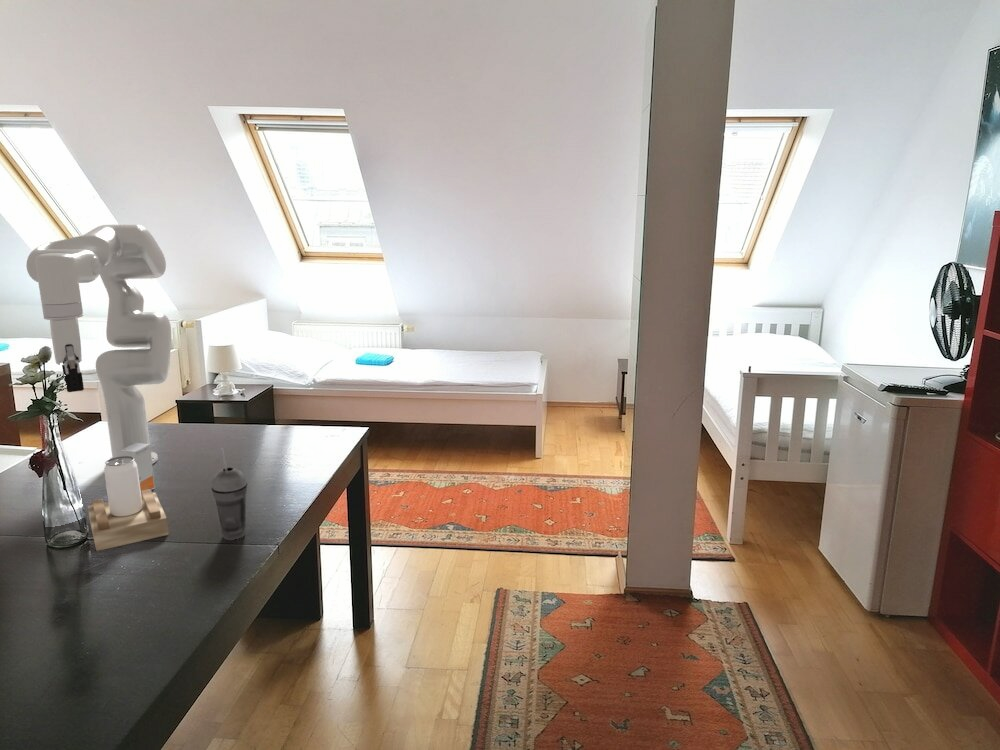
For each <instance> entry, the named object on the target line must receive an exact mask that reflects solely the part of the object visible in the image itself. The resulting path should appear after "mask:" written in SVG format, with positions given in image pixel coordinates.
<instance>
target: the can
mask: <svg viewBox="0 0 1000 750" xmlns="http://www.w3.org/2000/svg"><path fill="white" fill-rule="evenodd" d="M110 458H111V459H110ZM110 458H109V459H107V460H106V461H105V462H104V464H105V465H104V469H103V471H104V479H105V480H104V481H105V488H106V494H107V502H109V509H110V513H111V514H112V515H113V516H115V517H126V516H131V515H134V514H136V513H138V512H140V511H141V509H142V499H141V491H140V483H139V475H138V468H137V464H136V462H135V461H134V458H133V457H131V456H119V457H114V458H112V457H110Z"/></svg>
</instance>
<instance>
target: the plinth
mask: <svg viewBox="0 0 1000 750" xmlns="http://www.w3.org/2000/svg"><path fill="white" fill-rule="evenodd" d="M141 499H142V509H141V511H140V512H138V513H136V514H134V515H131V516H126V517H115V516H113V515H112V514H111V513H110V509H109V502H108V501H106V502H104V501H103V498H102V497H101V498H97V499H92V500H91V503H92V504H91V505H87V512H88V519H89V524H90V529H91V533H92V537H93V538H92V539H93V541H94V547H95V550H96V552H100V551H103V550H107V549H112V548H117V547H121V546H126V545H129V544H133V543H134V544H135V543H138V542H143V541H146V540H151V539H155V538H160V537H163V536H169V525H168V519H167V515H166V513H165V511H164V509H163V507H162V504H161V502H160V500H159V498H158V495H157V492H153V490H151V489H147V490H142V491H141Z"/></svg>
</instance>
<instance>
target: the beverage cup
mask: <svg viewBox="0 0 1000 750" xmlns="http://www.w3.org/2000/svg"><path fill="white" fill-rule="evenodd" d="M220 449H221V455H222V460H223V467H224V468H222V469H220V470H219V471H217V472H216V474H214V477H213V480H212V483H211V491H212V495H213V497H214V500H215V503H216V504H215V505H216V509H217V514H218V517H219V518H218V520H219V524H220V529H221V530H220V531H221V533H222V537H224V538H223V539H224V540H225V541H235V539H237V540H239V538H240V539H242V538H244V537H245V536H244V535H246V525H247V524H246V520H247V519H246V518H247V517H246V513H247V510H246V507H247V505H246V504H247V503H246V500H247V499H246V498H247V497H246V496H247V495H246V494H247V490H248V482H247V479H246V477H245V475H244V474H243V472H242V471H241V470H239V469H238V468H235V467H228V466H227V460H226V455H225V448H224V447H221V448H220ZM243 536H244V537H243ZM241 537H242V538H241Z"/></svg>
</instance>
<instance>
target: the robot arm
mask: <svg viewBox="0 0 1000 750" xmlns="http://www.w3.org/2000/svg"><path fill="white" fill-rule="evenodd" d="M166 262H167V261H166V257H165V254H164V253H163V250H162V249H161V247H160V246H159V244H158V242H157V241H156V239H155V237H154V236H153V235H152V233H151V232H150V231H149V230H148V229H147V228H145V227H144V226H143V225H140V224H103V225H99V226H97V227H95V228H93V229H91V230H89V231H88V232H86V233H84V234H83V235H78V236H74V237H69V238H64V239H61V240H57V241H50V242H48V243H47V242H46V243H43V244H42V245H40V246H38V247H36V248H34V249H33V250H32V251H30V253H29V255H28V256H27V260H26V271H27V274H28V276H29V277H30V278H31V279H32V280H33V281H35V282H36V283H38V288H39V296H40V302H41V307H42V315H43V319H44V320H45V321H46V320H47V321H48V320H49V326H50V335H51V342H52V348H53V354H54V361H55V363H56V364H57V365H58V366H59V365H61V364H62V365H61V366H62V374H63V375H64V374H65V375H66V376H65V378H64V377H63V380H64V382H65V386H66V385H67V386H66V391H67V393H73V392H74V393H75V392H83V391H84V390H85V388H84V380H83V375H82V372H81V369H80V363H81V362H82V344H81V334H80V326H79V319H78V318H82V317H83V316H84V311H83V304H82V303H83V302H82V297H81V289H80V284H84V283H85V284H87V283H91V282H94V281H95V280H96V279H97V278H98V277H100V279H101V281H102V283H103V286H104V288H105V290H106V292H107V296H108V308H107V309H108V310H107V317H106V318H107V319H106V340H107V342H108V343H109V344H110V346H113V347H115V348H123V349H112V350H108V351H107V350H106V351H104V352H102V353H101V354H99V356H98V357H97V358H96V361H95V371H96V375H97V377H98V380H99V384H100V386H101V390H102V393H103V394H102V395H103V398H104V399H103V400H104V401H103V402H104V406H105V412H106V419H107V421H106V422H107V428H108V435H109V442H110V443H109V444H110V450H111V457H110V458H109V459H111V458H114V457H119V456H120V451H121V450H123V449H125V448H126V447H128V446H130V445H133V444H135V443H143V444H150V445H151V443H150V442H151V441H150V435H149V426H148V425H149V424H148V418H147V409H146V401H145V400H146V399H145V398H144V395H143V394H142V393H141V391H140V390H139V389H138V388H137V387H136V386H145V385H147V386H148V385H149V386H151V385H160V384H163V383H165V382H166V381H167V379H168V377H169V375H170V374H169V373H170V363H171V348H172V326H171V325H172V324H171V323H170V319H169V318H168V316H167V315H166V314H164V313H162V312H159V311H158V312H157V311H144V303H145V300H144V296H143V294H142V293H141V291H140V290H138V288H137V287H136V286H135V285H133V284H132V283H131V282H130V281H129V280H130V279H131V280H134V279H135V280H137V279H138V280H139V279H140V280H142V279H143V280H144V279H146V280H147V279H150V280H152V279H158V278H160V277H162V276H163V275H164V274H165V272H166V267H167V263H166ZM128 279H129V280H128ZM125 348H126V349H125ZM131 348H132V349H131ZM134 348H135V349H134ZM138 348H139V349H138ZM140 348H141V349H140ZM143 348H144V349H143ZM151 457H152V465H154V464H155V463H156V462H157V461H158V460H159V455H158V454H157V452H154V451H151Z"/></svg>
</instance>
